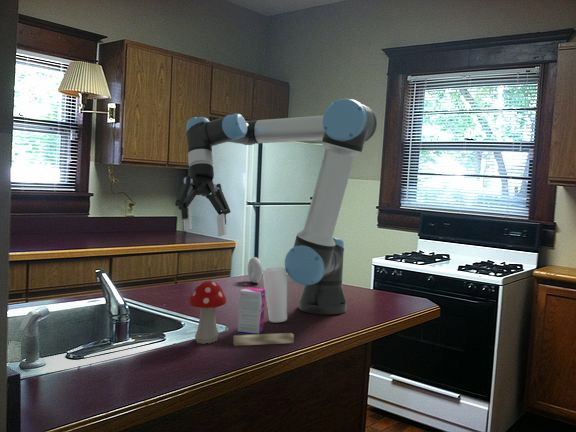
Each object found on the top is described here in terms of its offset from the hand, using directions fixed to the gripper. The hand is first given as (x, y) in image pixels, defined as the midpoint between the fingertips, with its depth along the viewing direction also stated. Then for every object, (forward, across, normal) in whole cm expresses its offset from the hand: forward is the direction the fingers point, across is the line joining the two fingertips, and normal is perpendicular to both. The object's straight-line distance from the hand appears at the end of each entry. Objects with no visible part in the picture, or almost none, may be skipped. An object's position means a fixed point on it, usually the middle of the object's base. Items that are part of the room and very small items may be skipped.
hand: (205, 232), depth 171 cm
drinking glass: (+28, -11, +15) cm, 34 cm away
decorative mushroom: (+33, +15, +14) cm, 39 cm away
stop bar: (+35, +7, +25) cm, 44 cm away
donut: (+9, -47, -26) cm, 55 cm away
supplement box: (+31, +2, +17) cm, 36 cm away
